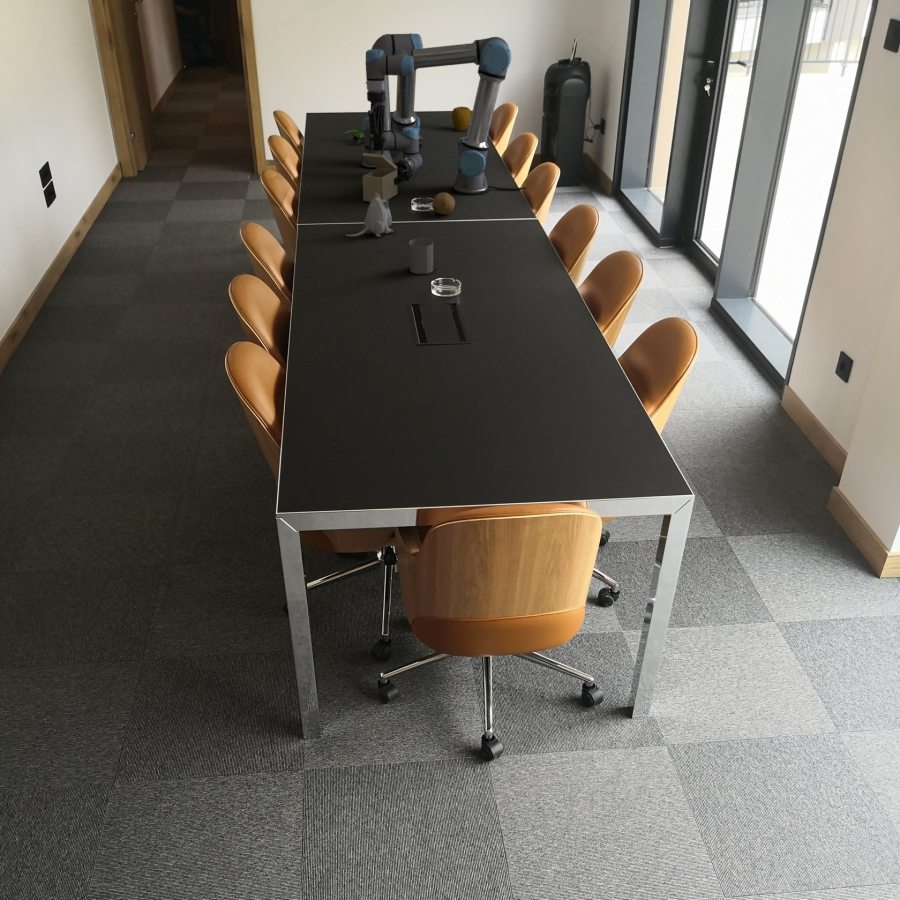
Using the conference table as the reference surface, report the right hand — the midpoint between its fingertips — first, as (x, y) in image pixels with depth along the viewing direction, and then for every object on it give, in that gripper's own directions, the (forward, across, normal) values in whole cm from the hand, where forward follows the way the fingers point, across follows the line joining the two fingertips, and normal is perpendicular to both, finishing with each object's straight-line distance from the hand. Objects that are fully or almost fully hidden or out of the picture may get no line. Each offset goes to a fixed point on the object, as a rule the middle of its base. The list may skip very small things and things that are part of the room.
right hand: (378, 149), depth 370 cm
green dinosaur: (+20, -93, -44) cm, 104 cm away
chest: (+21, -1, 0) cm, 21 cm away
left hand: (+15, -6, 0) cm, 16 cm away
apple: (+19, -136, -7) cm, 137 cm away
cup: (+22, +75, +47) cm, 91 cm away
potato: (+21, +11, +34) cm, 41 cm away
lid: (+6, -2, 0) cm, 6 cm away
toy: (+22, +48, +16) cm, 55 cm away
